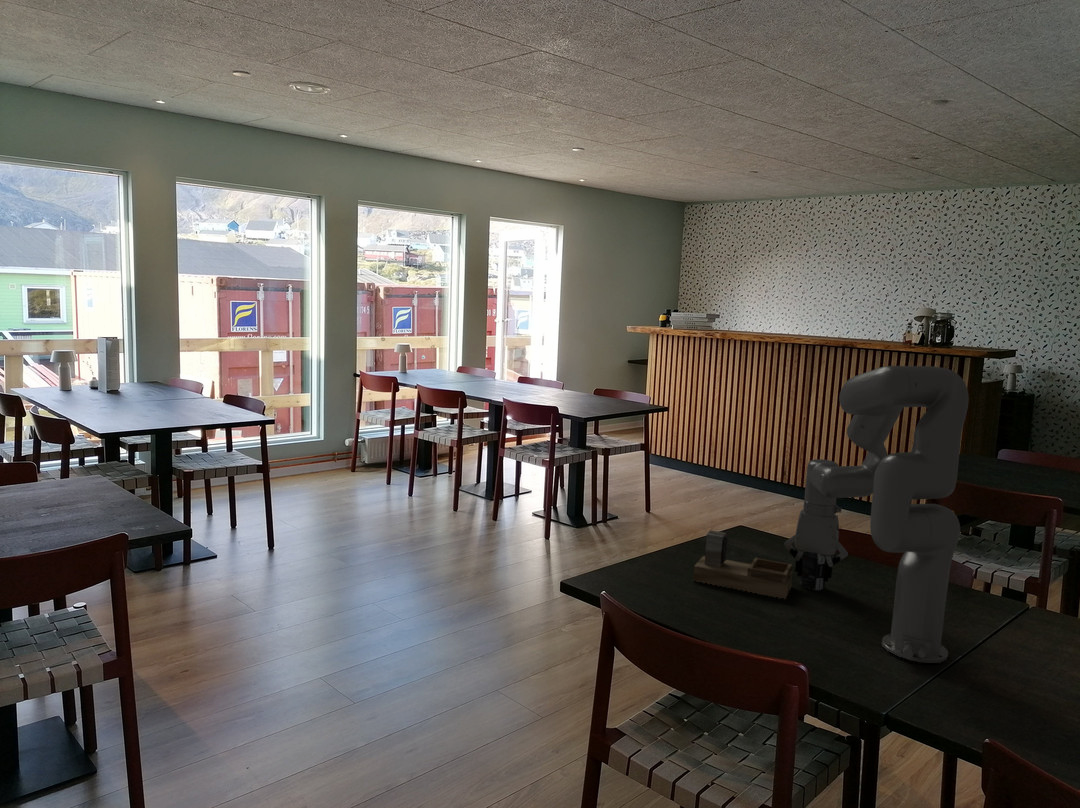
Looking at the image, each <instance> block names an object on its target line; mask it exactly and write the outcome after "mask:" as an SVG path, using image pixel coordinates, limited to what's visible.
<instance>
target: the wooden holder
mask: <svg viewBox="0 0 1080 808" xmlns="http://www.w3.org/2000/svg"><path fill="white" fill-rule="evenodd" d="M705 541H706V542H705V553H704V554H705V555H703V556H702V557H700V559H699V560H698V561H697V562H696V563H695V565H694V566H693V575H692V581H693V582H695V581H696V583H700V582H702V583H701V584H705V583H707V585H710V584H712V585H711V586H715V585H717V586H716V587H720V586H722V587H721V588H725V587H726V589H730V588H733V589H732V590H735V589H737V591H740V590H742V591H741V592H745V591H747V592H746V593H750V592H752V593H751V594H755V593H757V595H761V596H762V595H763V596H766V595H767V597H771V596H772V598H776V597H778V598H777V599H781V598H784V599H783V600H787V598H788V596H789V594H790V592H791V590H792V588H791V587H793V577H794V572H793V571H792V569H793V564H792V563H787V562H781V561H776V560H770V559H765V558H759V557H754V559H753V560H752V561H751V563H746V562H740V561H736V560H731V559H727V551H728V537H727V532H722V531H717V530H711V529H710V530H709V531H708V533H706V540H705ZM790 589H791V590H790ZM789 591H790V592H789ZM788 593H789V594H788ZM787 595H788V596H787ZM786 597H787V598H786Z"/></svg>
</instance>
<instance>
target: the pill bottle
mask: <svg viewBox="0 0 1080 808" xmlns="http://www.w3.org/2000/svg"><path fill="white" fill-rule="evenodd" d="M801 557H802V567H801V576H800V580H799V581H800V582H799V584H800V586H801V587H802V586H803V587H802V588H804V587H805V588H804V589H806V588H808V589H807V590H810V589H812V590H811V591H821V589H822V590H824V589H825V587H826V583H825V581H824V580H825V569H826V565H827V560H826V556H825V555H820V554H817V553H809V552H804V553H803V555H802V556H801Z"/></svg>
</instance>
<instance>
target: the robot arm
mask: <svg viewBox="0 0 1080 808" xmlns="http://www.w3.org/2000/svg"><path fill="white" fill-rule="evenodd" d="M969 398H970V397H969V391H968V388H967V385H966V382H965V381H964V379H963V378H962V376H960V375H959V374H958V373H957V372H955V371H954V370H951V369H948V368H946V367H939V366H930V365H885V366H881V367H877V368H875V369H872V370H869V371H867V372H863V373H860V374H857V375H855V376H852V377H850V378H848V379H847V381H845V383H844V384H843V385H842V387H841V389H840V392H839V398H838V401H839V404H840V405H839V406H840V407H841V409H842V410H843V412H845V413H846V414H848V415H852V418H851V420H850V422H849V423H848V426H847V428H846V434H847V437H848V439H849V440H850V441H851V443H853V444H854V445H855V446H857V447H859V448H860V449H863V450H864V451H866V452H867V454H866V456H865V458H864V460H863V461H862V463H861V465H841V466H840V465H838V463H837V462H835V461H833V460H829V459H820V458H815V459H811V460H810V461H808V462H807V467H806V478H805V487H804V488H805V489H804V500H803V509H802V510H800V511H799V515H798V519H797V524H796V528H795V529H796V530H795V534H794V535H793V536H791V537H790V538H789V539H787V540H785V542H784V544H783V546H784V547H785V548H786V550H787V551H788V552H789V553H790V555H791V556H792V557H793V558H794V560H795V568H794V570H795V571H794V572H795V573H797V574H796V576H797V577H801V567H802V557H803V553H804V552H809V553H817V554H820V555H825V556H826V560H827V565H826V569H825V580H824V581H825V582H826V583H828V582H829V579H832V575H833V566H834V565H836V564H838V563H839V562H840V561H842V560H844V559H845V558H847V557H848V555H849V554H848V553H849V552H848V551H847V550H846V549H845V547H844V546H843V545H842V544H841V542H840V541H839V535H840V529H839V528H840V526H839V523H840V522H839V516H838V514H839V513H840V514H841V513H842V509H843V508H842V507H839V506H838V505H837V499H845V498H865V497H869V496H872V497H871V498H872V499H871V508H870V526H869V527H870V534H871V538H872V540H873V543H874V544H875V546H876V547H877V548H879V549H880V550H881V551H883V552H886V553H891V554H892V553H894V554H895V553H896V554H897V553H903V554H902V556H901V558H900V561H899V563H898V567H897V575H896V580H895V581H896V583H895V592H894V601H893V602H894V603H893V609H892V610H893V611H892V619H891V620H892V621H891V626H890V627H891V628H890V629H891V630H890V633H889V634H886V635H884V636H883V637H882V639H881V646H882V648H883V647H884V648H885V649H886V650H887V651H886V650H885V649H884V648H883V649H884V650H885V651H886V652H888V651H889V652H891V653H893V654H895V655H897V656H899V657H903V658H906V659H910V660H914V661H920V662H939V661H943V660H945V659H946V658H947V657H948V658H949V651H948V650H947V648H946V647H945V646H944V645H942V637H943V630H944V628H943V627H944V622H945V621H944V620H945V611H946V604H947V594H948V589H949V588H948V587H949V579H950V574H951V573H950V571H951V565H952V561H953V557H954V555H955V551H956V548H957V546H958V542H959V539H960V535H961V524H960V521H959V518H958V517H957V515H956V513H955V512H954V511H953V510H952V509H950V508H948V507H946V506H944V505H941V504H936V503H913V504H912V501H914V500H915V501H916V500H934V499H935V500H936V499H943V498H947V497H950V495H952V494H953V492H954V491H955V489H956V485H957V481H958V471H959V461H960V451H961V439H962V433H963V429H964V425H965V424H964V423H965V421H966V417H967V413H968V408H969V402H970V401H969V400H970V399H969ZM904 408H926V409H927V411H925V412H924V414H923V415H922V416H921V418H920V419H919V421H918V422H917V424H916V426H915V428H914V433H913V444H912V449H911V451H909V452H905V451H904V452H894V453H890V454H888V451H887V448H886V447H885V441H886V440H887V438H888V436H889V435H890V433H891V431H892V430H893V428H894V426H895V424H896V422H897V420H898V418H899V417H900V415H901V413H902V411H903V409H904ZM793 544H794V546H793ZM837 551H838V552H839V554H837V555H836V553H837ZM834 555H835V556H834ZM889 652H888V653H889ZM899 657H898V658H899Z"/></svg>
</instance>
